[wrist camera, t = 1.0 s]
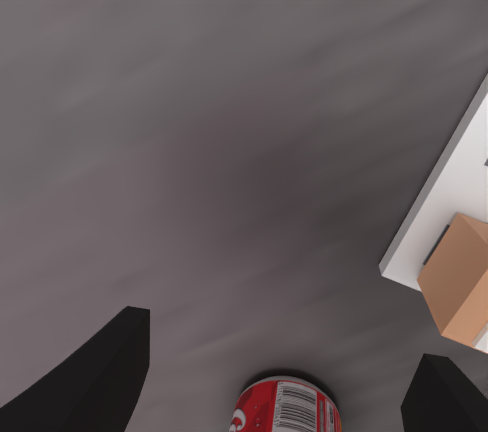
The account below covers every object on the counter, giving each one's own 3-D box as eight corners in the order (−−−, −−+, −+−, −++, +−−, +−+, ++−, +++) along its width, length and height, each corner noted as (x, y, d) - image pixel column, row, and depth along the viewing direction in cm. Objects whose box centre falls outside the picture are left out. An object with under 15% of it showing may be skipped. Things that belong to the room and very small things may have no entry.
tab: (519, 236, 18) (581, 290, 14) (471, 301, 20) (514, 368, 15) (458, 212, 18) (501, 258, 14) (416, 279, 20) (442, 339, 16)
